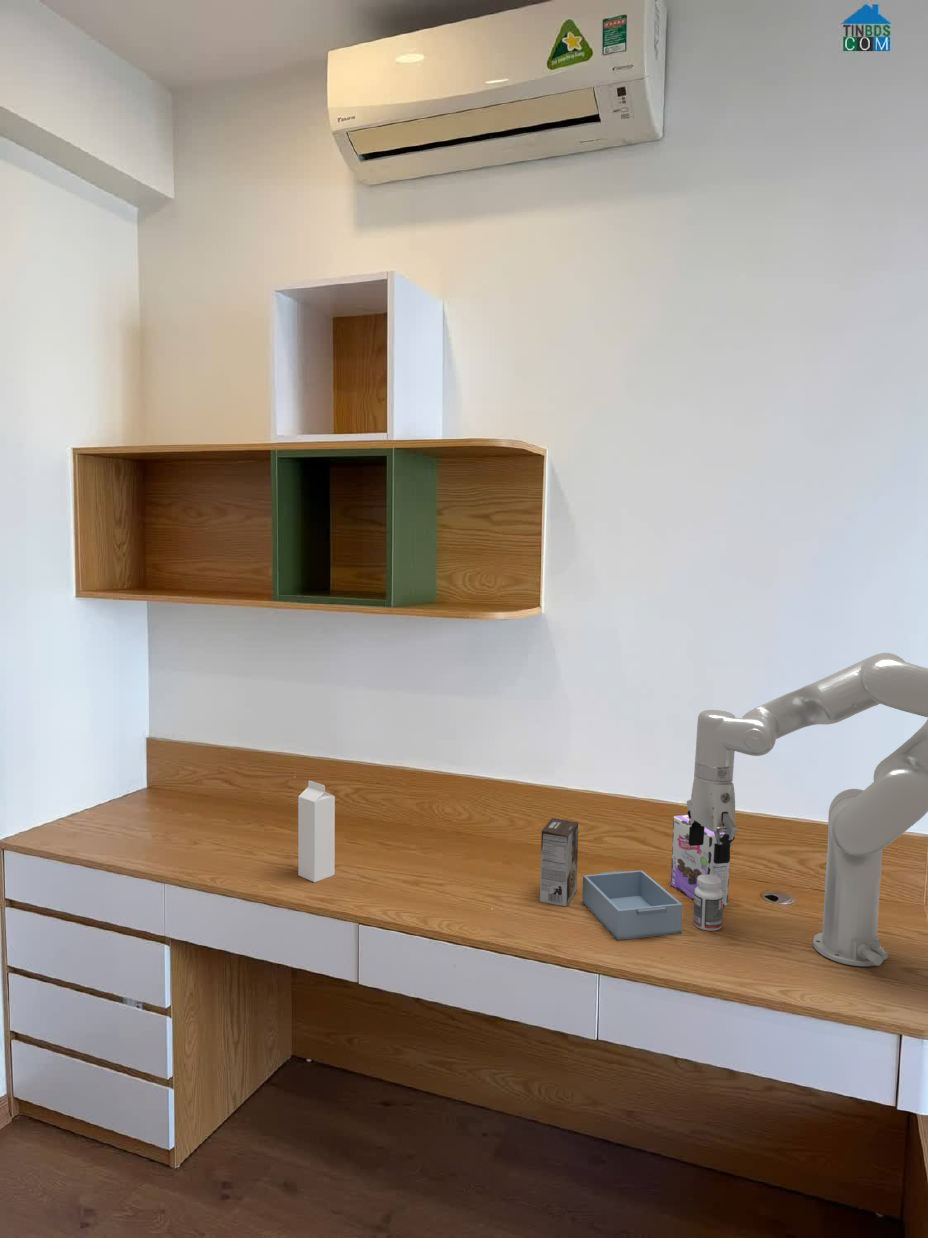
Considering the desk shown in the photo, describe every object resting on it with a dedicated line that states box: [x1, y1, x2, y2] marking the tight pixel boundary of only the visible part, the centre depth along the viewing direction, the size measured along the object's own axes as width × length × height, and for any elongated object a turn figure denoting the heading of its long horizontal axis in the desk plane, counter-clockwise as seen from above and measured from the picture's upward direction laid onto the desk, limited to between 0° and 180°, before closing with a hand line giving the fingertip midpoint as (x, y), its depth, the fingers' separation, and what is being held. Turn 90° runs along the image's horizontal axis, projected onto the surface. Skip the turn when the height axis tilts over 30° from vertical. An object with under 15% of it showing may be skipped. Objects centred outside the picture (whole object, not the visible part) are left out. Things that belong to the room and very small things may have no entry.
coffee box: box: [539, 817, 579, 907], centre depth 186 cm, size 9×6×16 cm
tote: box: [581, 870, 684, 941], centre depth 176 cm, size 20×14×6 cm
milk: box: [297, 780, 336, 883], centre depth 195 cm, size 6×6×22 cm
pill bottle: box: [692, 874, 724, 932], centre depth 173 cm, size 6×6×10 cm
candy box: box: [670, 814, 732, 907], centre depth 188 cm, size 14×6×16 cm, turn 21°
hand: (708, 853), depth 172 cm, fingers open, 9 cm apart
